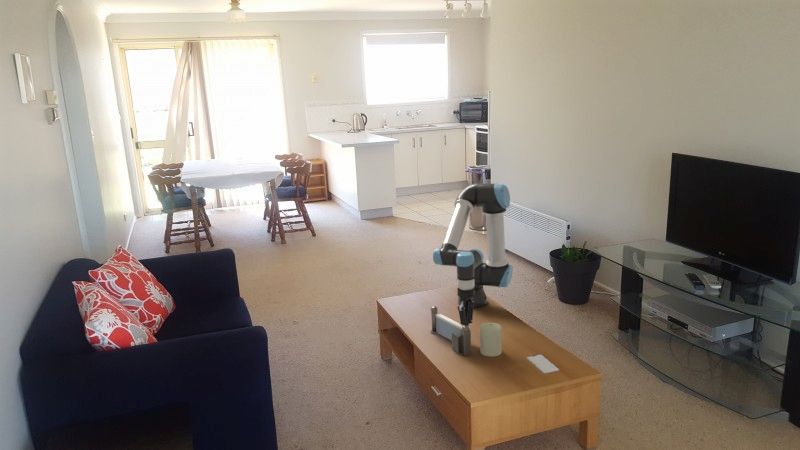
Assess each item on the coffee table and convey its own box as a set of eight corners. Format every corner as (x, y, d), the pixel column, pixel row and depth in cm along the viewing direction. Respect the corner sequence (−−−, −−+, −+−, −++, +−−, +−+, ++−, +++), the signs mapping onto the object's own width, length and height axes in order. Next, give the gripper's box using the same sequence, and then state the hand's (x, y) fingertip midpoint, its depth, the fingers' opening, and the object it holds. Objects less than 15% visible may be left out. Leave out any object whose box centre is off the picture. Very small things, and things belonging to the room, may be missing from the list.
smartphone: (544, 373, 228) (525, 357, 242) (544, 375, 228) (525, 358, 242) (560, 370, 230) (541, 353, 244) (560, 371, 230) (541, 355, 244)
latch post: (461, 347, 255) (460, 319, 252) (471, 354, 248) (471, 326, 245) (452, 349, 253) (451, 322, 250) (462, 357, 246) (461, 328, 243)
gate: (436, 332, 269) (435, 314, 267) (440, 331, 270) (439, 313, 268) (465, 348, 251) (465, 329, 249) (469, 347, 252) (469, 328, 250)
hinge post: (436, 329, 275) (435, 304, 271) (441, 332, 271) (440, 306, 268) (428, 331, 273) (427, 306, 270) (433, 334, 269) (432, 309, 266)
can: (501, 347, 253) (501, 321, 250) (502, 356, 244) (502, 330, 241) (480, 346, 254) (479, 321, 252) (480, 356, 246) (479, 330, 243)
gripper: (464, 281, 260) (465, 330, 265) (451, 290, 249) (453, 341, 255) (479, 283, 256) (480, 333, 262) (467, 293, 245) (468, 344, 251)
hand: (467, 337), depth 258 cm, fingers closed
